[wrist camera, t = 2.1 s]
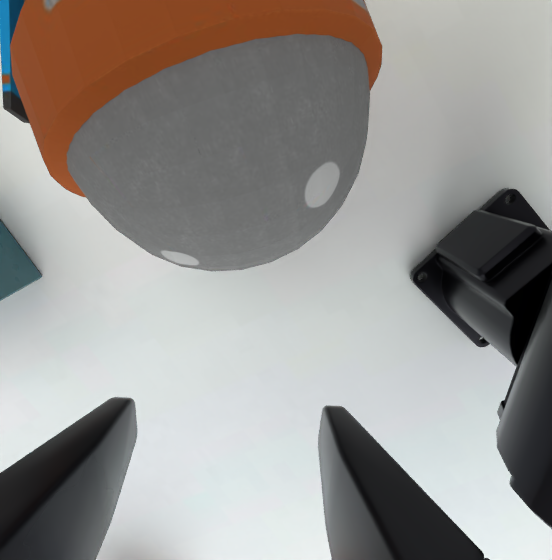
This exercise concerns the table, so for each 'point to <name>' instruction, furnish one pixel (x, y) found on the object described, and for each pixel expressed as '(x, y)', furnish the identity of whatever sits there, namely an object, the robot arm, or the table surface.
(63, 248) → the table surface
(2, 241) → the teal block with ring
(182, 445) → the table surface
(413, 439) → the table surface
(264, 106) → the grenade
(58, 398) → the table surface
